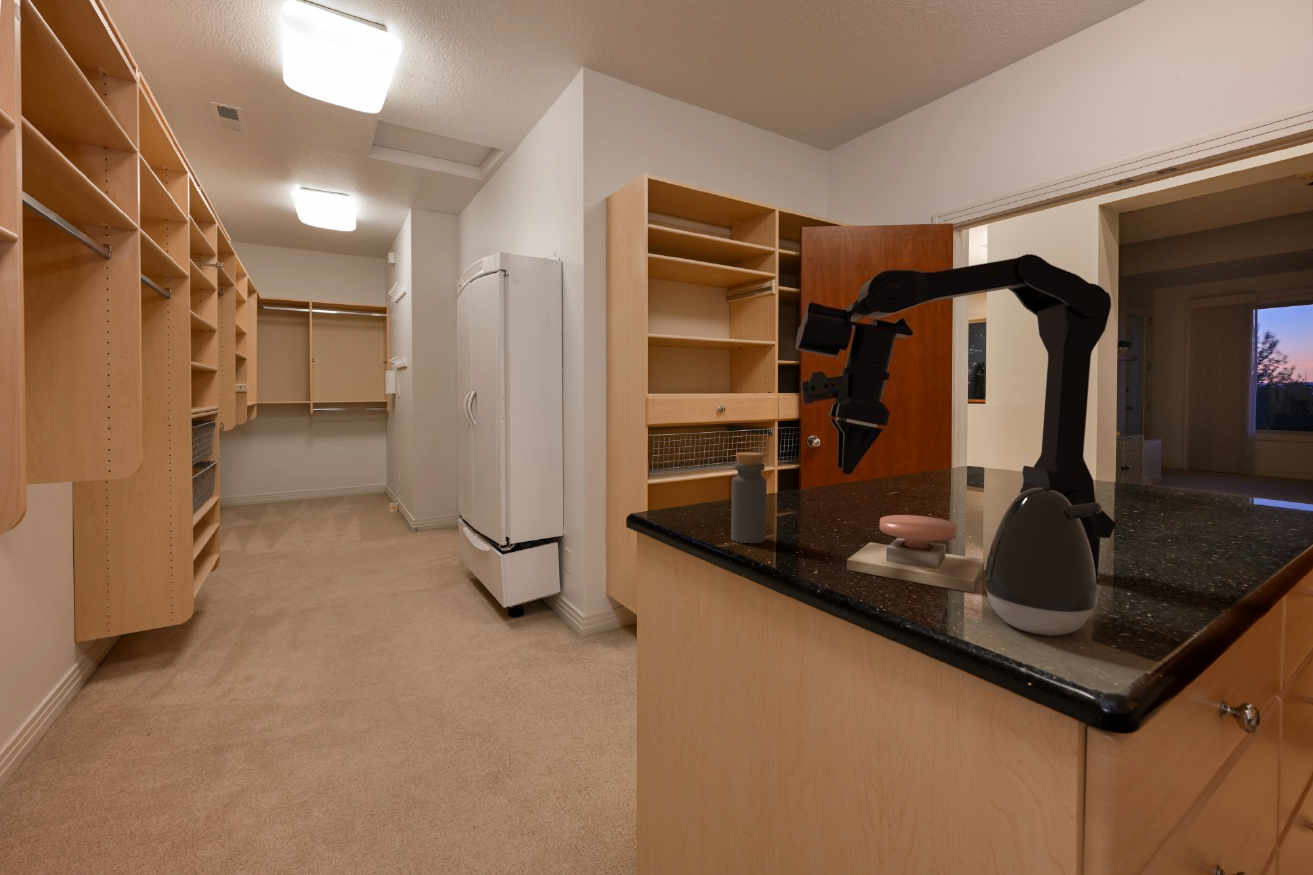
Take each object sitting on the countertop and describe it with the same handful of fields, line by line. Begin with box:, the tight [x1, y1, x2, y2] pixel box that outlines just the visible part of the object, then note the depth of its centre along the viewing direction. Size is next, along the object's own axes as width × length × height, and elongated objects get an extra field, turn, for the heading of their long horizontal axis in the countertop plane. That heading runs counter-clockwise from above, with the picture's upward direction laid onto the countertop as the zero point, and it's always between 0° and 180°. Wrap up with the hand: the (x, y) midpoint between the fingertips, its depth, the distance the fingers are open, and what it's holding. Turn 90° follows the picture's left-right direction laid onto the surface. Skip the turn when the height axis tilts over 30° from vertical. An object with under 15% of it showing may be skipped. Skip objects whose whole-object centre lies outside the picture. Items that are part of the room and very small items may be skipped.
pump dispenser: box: [983, 488, 1103, 636], centre depth 62 cm, size 10×10×15 cm
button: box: [879, 514, 958, 549], centre depth 82 cm, size 10×10×3 cm
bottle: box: [730, 451, 767, 545], centre depth 98 cm, size 6×6×15 cm
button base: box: [846, 537, 986, 593], centre depth 82 cm, size 16×12×4 cm
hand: (843, 470), depth 83 cm, fingers open, 9 cm apart
